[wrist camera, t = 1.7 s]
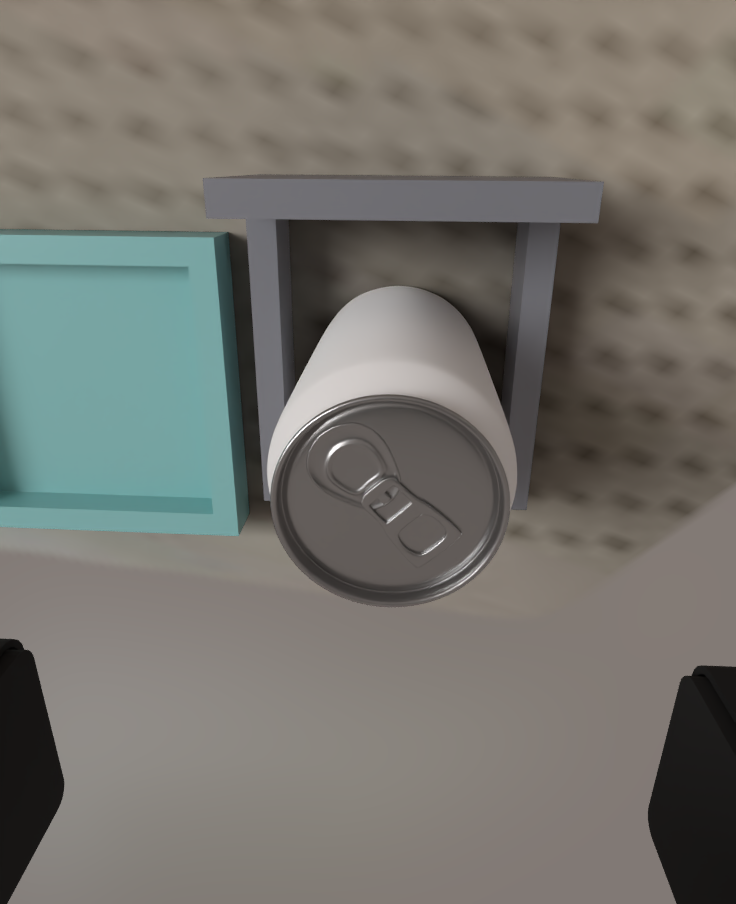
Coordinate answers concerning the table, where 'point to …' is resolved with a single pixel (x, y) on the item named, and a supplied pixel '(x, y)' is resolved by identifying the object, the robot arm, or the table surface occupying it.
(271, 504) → the can
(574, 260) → the table surface
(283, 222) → the bay
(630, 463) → the table surface
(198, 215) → the table surface
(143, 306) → the tray
